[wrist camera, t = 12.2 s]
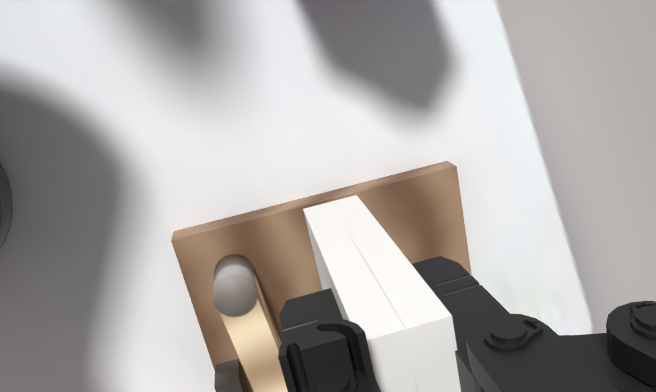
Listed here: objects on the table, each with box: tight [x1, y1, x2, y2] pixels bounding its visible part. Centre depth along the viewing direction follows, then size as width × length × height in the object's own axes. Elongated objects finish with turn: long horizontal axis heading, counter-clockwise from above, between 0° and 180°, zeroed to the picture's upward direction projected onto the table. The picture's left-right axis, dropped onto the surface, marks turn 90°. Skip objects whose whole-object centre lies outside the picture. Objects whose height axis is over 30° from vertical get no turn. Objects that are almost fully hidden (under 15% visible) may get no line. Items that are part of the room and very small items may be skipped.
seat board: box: [171, 161, 471, 392], centre depth 46 cm, size 24×20×5 cm
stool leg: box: [213, 254, 288, 392], centre depth 44 cm, size 16×3×4 cm, turn 17°
